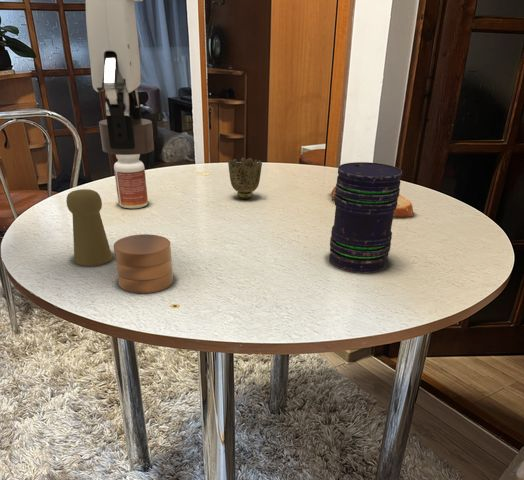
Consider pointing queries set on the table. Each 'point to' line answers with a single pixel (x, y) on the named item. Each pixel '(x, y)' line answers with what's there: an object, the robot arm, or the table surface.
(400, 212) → the bread slice
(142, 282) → the pile chip
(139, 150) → the walnut chip
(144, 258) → the pile chip
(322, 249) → the table surface
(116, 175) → the pill bottle
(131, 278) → the pile chip
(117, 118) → the robot arm
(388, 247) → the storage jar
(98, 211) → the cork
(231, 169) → the cup
